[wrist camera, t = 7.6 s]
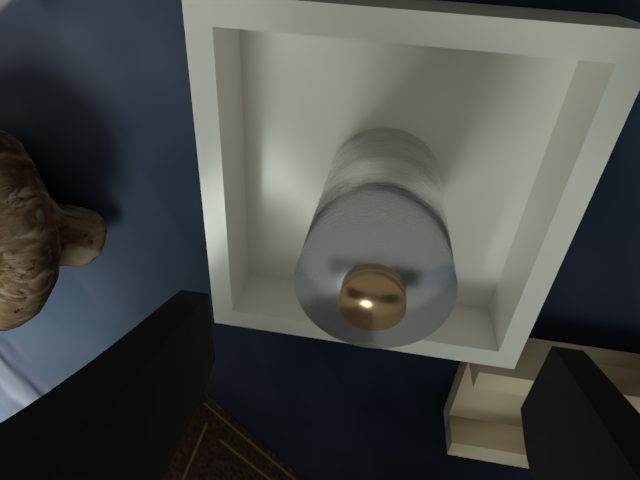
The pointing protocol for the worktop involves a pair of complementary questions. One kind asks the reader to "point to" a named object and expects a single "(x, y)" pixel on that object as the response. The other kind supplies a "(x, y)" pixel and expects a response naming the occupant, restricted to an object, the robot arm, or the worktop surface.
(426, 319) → the cylinder
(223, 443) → the book
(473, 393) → the trough
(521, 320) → the dish
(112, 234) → the worktop surface
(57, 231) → the mushroom
